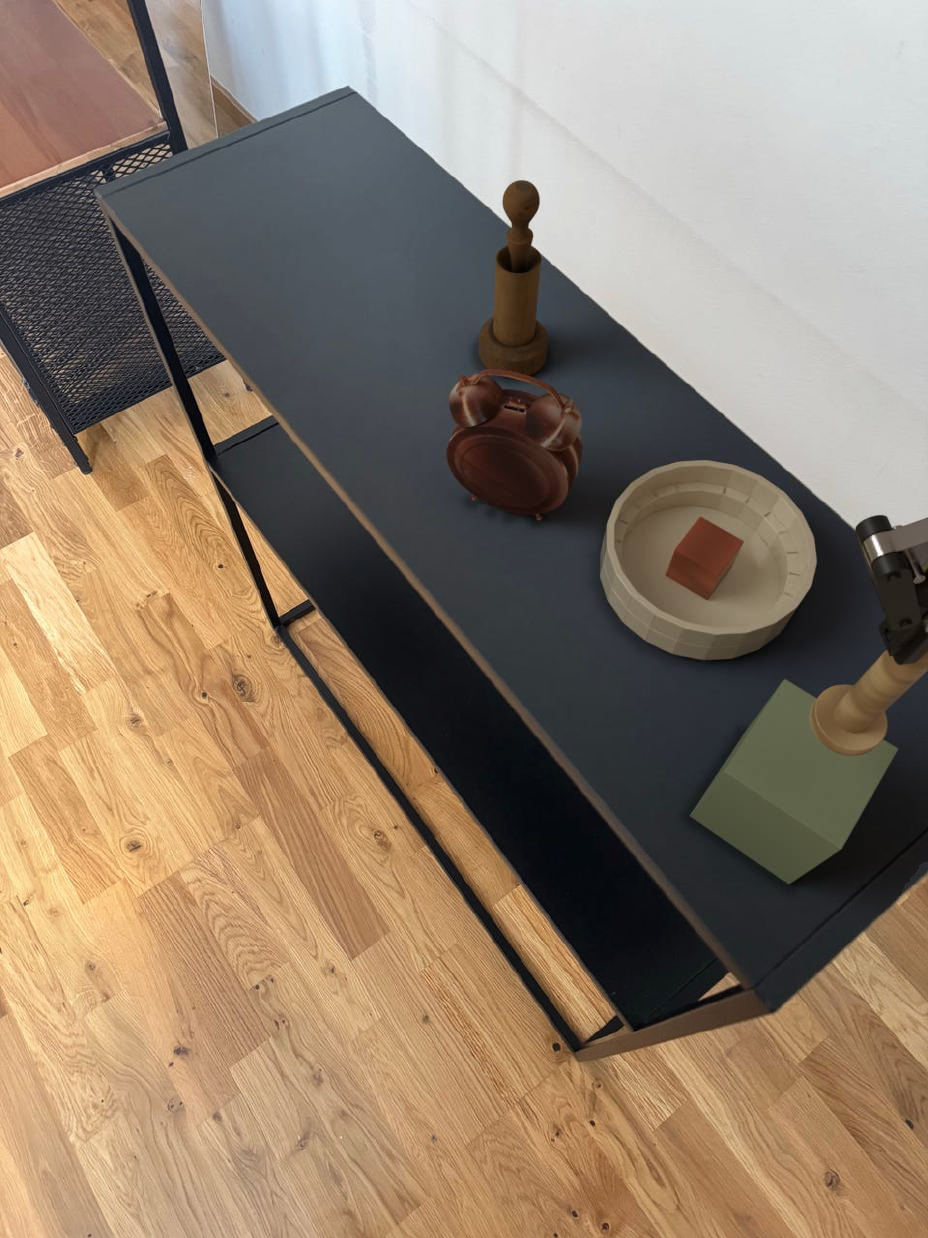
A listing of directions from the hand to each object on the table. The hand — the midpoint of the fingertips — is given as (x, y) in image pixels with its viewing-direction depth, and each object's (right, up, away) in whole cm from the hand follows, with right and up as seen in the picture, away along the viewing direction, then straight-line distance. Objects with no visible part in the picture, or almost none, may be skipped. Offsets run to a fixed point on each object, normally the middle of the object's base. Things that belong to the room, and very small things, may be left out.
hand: (924, 642), depth 41 cm
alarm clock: (-18, +12, +36) cm, 42 cm away
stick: (0, -5, +9) cm, 10 cm away
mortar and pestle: (-17, +27, +44) cm, 55 cm away
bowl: (-2, +5, +32) cm, 33 cm away
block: (-2, +5, +32) cm, 32 cm away
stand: (0, -12, +23) cm, 26 cm away
